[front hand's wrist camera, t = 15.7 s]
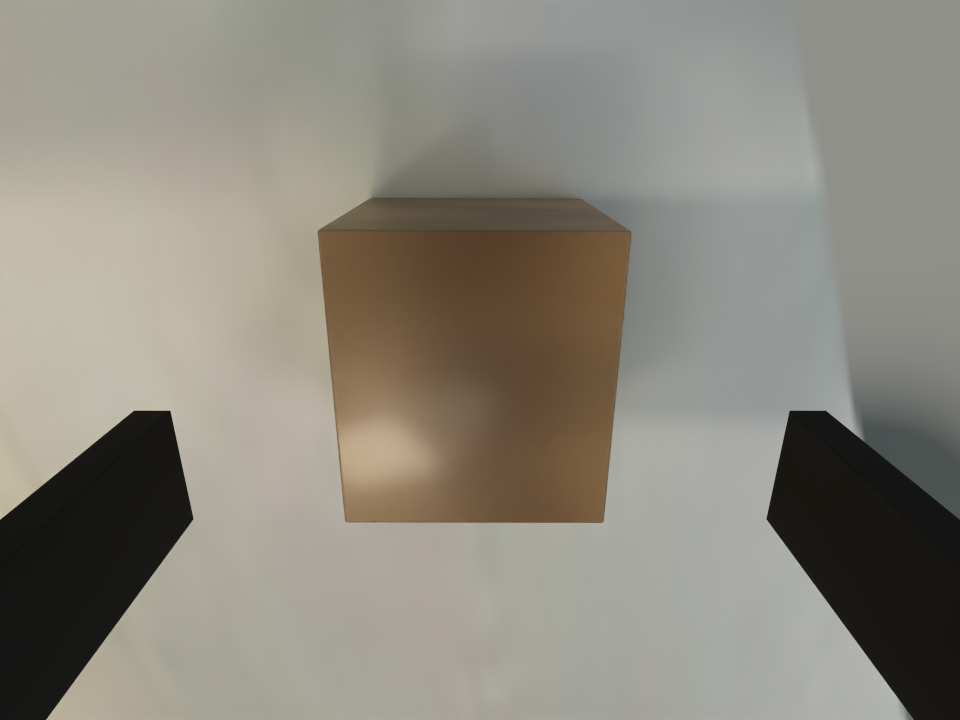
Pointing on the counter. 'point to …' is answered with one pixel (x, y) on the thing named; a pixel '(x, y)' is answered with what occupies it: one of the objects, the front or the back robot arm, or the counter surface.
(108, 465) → the front robot arm
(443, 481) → the block
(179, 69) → the counter surface
